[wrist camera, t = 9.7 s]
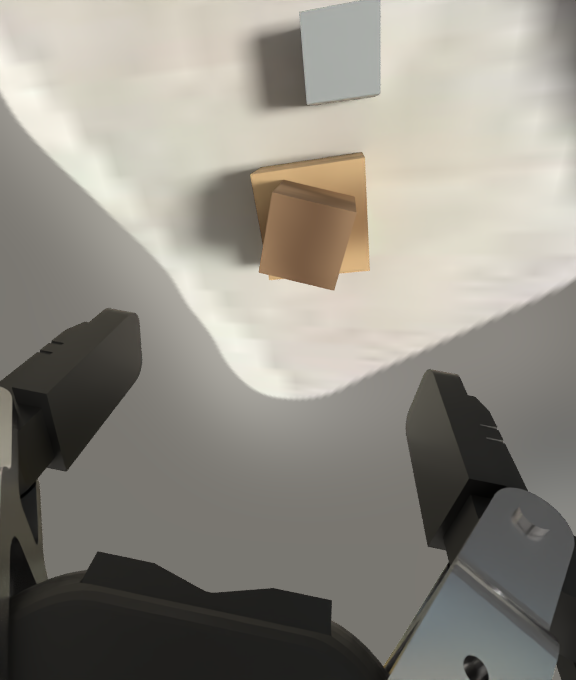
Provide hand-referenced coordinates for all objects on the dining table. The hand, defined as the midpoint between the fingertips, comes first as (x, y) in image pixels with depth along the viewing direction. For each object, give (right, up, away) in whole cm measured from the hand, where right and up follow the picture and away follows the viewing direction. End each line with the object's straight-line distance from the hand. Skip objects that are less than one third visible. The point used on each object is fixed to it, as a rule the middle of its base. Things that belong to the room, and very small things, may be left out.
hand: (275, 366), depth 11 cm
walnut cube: (+2, +8, +14) cm, 16 cm away
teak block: (+2, +10, +17) cm, 20 cm away
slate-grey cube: (+4, +18, +13) cm, 22 cm away
